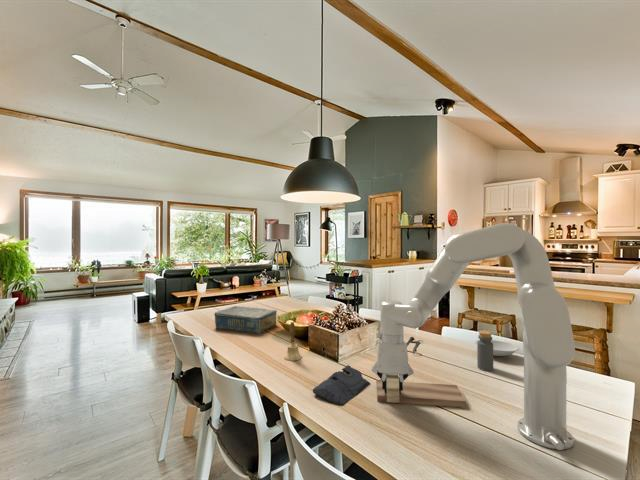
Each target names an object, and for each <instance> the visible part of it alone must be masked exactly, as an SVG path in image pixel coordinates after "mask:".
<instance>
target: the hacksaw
mask: <svg viewBox="0 0 640 480" xmlns="http://www.w3.org/2000/svg"><path fill="white" fill-rule="evenodd" d="M421 342H423V340H421V339H420V340H415V337H414V336H411V337H409V339H408V341H406V342H405V343H406V346H408V345H409V344H410V343H415V345H414V347H413V350H412V351H411V350H407V353H412V354H413V356H415V357H417V355H415V353H416V354H418V355H419V357H421V356H422V353H419V352H417V351H418V350H417V348H418V346H419V345H420V344H421Z"/></svg>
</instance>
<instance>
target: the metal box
mask: <svg viewBox="0 0 640 480" xmlns="http://www.w3.org/2000/svg"><path fill="white" fill-rule="evenodd" d="M277 310H278V309H268V308H267V309H266V308H258V307H250V306H249V307H248V306H247V307H246V306H240V305H235V306H232V307H228V308H225V309H221V310H219V311H218V310H217V311H216V312H214V322H215V323H214V324H215V328H216V329H219V330H225V329H226V331H233V330H235V332H241V331H243V332H242V333H247V332H250V333H249V334H255V333H257V335H260V334H262V333H264V332H266V331H268V328H269V329H271V328H273V326H274V327H276V326H277V312H278V311H277ZM275 325H276V326H275ZM270 327H271V328H270ZM265 330H266V331H265Z"/></svg>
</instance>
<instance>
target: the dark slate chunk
mask: <svg viewBox="0 0 640 480" xmlns="http://www.w3.org/2000/svg"><path fill="white" fill-rule="evenodd" d="M341 370H342V371H341ZM341 370H339V371H335V372H333V373H332V374H331V375H330V376H329V377H327V379H326V380H323V381H322V382H320V383H319V385H317V386H315V387H314V388H313V389H312V393H313V394H314V395H317V396H318V397H321V398H322V399H325V400H327V401H328V402H331V403H333V404H334V405H338V406H345V405H346V404H348V403H349V402H350V401H351V400H353V399H354V398H355V397H357V396H358V395H359V394H361V392H362V391H364V390H365V389H366V388H367V387H369V385H371V383H370V381H369V380H367V379H366V378H363V375H362V372H361V371H360V370H358V369H356V368H354V367H351V366H350V365H348V364H347V365H346V366H344V367H343V368H341Z"/></svg>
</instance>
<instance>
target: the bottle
mask: <svg viewBox="0 0 640 480" xmlns="http://www.w3.org/2000/svg"><path fill="white" fill-rule="evenodd" d="M492 334H493V333H492V332H491V331H490V330H489V331H488V330H479V331H478V337H477V338H478V340H479V341H478V342H477V344H476V345H477V347H476V348H477V349H476V350H477V355H476V358H477V362H476V365H477V369H479V370H481V371H485V372H486V371H487V372H492V371H494V355H493V343H492V342H491V340H493V336H492Z"/></svg>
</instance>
